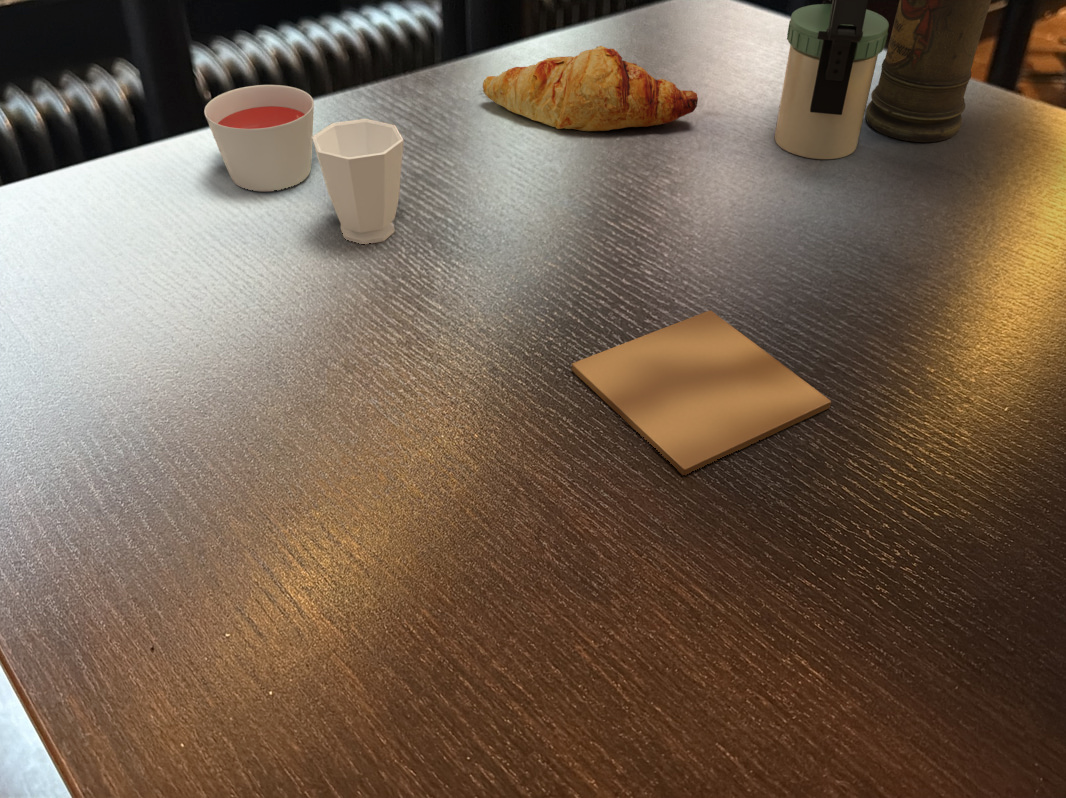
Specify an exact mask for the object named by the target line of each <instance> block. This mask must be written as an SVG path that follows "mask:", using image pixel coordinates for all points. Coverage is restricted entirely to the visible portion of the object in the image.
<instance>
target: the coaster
mask: <svg viewBox="0 0 1066 798" xmlns="http://www.w3.org/2000/svg"><path fill="white" fill-rule="evenodd" d="M570 369H571V371H572V373H574V374H575V375H576V376H577V377H578V378H579V379H580V380H581V381H582V382H583V383H584V384H585V385H586V386H588V387H589V389H590V390H592V391H593V392H594V393H595V395H597V396H598V398H600V399H601V400H602V401H603V402H605V404H606V405H608V407H610V408H611V409H612V410H613V411H614V412H615V414H617V415H618V416H619V415H620V416H621V417H620V416H619V417H620V418H621V419H622V420H623V421H625V423H626V424H628V425H629V426H630V428H632V429H633V430H634V431H635V430H636V431H635V432H636V433H637V432H638V433H639V434H640V435H639V434H638V433H637V434H638V435H639V436H640V437H642V438H643V437H644V438H643V440H645V441H646V440H647V441H646V442H647V443H648V442H649V443H648V445H650V444H651V445H652V446H653V447H654V448H656V450H658V452H660V453H659V455H661V454H662V455H661V457H663V456H664V457H663V458H664V459H665V458H666V459H665V461H667V460H668V461H669V462H670V463H669V462H668V461H667V462H668V463H669V464H670V465H671V464H672V465H673V466H674V467H675V468H676V469H677V470H676V469H675V468H674V467H673V466H672V465H671V466H672V467H673V468H674V469H675V470H676V471H677V472H678V473H679V474H680V475H682V476H683V475H685V476H687V474H688V475H690V474H692V473H693V472H692V471H694V472H696V471H698V470H700V469H702V467H703V468H705V467H706V466H705V465H707V464H709V465H711V464H713V463H715V462H717V461H718V460H717V459H720V458H722V457H724V456H726V455H728V456H730V455H732V454H734V453H733V452H735V451H737V452H739V451H741V450H743V449H745V448H748V447H749V446H752V445H754V444H756V443H758V442H760V441H762V440H764V439H767V438H769V437H771V436H773V435H775V434H777V433H780V432H781V431H784V430H786V429H788V428H790V427H792V426H795V425H796V424H799V423H801V422H803V421H805V420H807V419H809V418H811V417H814V416H815V415H817V414H820V413H822V412H824V411H826V410H828V409H830V407H831V405H832V401H831V399H829V398H828V397H826V396H825V395H824V394H823V393H821V392H820V391H819V390H817V389H816V388H815V387H813V386H812V385H810V384H809V383H808V382H807V381H805V380H804V379H802V378H801V377H800V376H799V375H797V374H796V373H795V372H794V371H792V370H791V369H790V368H788V367H787V366H785V365H784V364H782V362H780V361H779V360H777V359H776V358H775V357H773V356H772V355H771V354H770V353H769V352H767V351H765V350H764V349H763V348H762V347H760V346H759V345H758V344H756V343H755V342H753V340H751V339H750V338H748V337H747V336H746V335H744V334H743V333H741V332H740V331H739V330H738V329H736V328H735V327H733V326H732V324H730V323H729V322H727V321H725V320H724V319H723V318H722V317H721V316H719V315H718V314H716V313H715V312H714V311H712V310H710V309H709V310H706V311H704V312H701V313H699V314H696V315H694V316H691V317H689V318H686V319H683V320H680V321H677V322H676V323H672V324H670V325H667V326H666V327H663V328H660V329H658V330H654V331H653V332H652V331H651V332H649V333H647V334H644V335H642V336H639V337H637V338H635V339H631V340H629V341H627V342H624V343H621V344H619V345H616V346H614V347H611V348H608V349H606V350H603V351H601V352H598V353H596V354H593V355H590V356H587V357H585V358H582V359H580V360H577V361H575V362H572V363H571V368H570ZM766 437H767V438H766ZM759 440H760V441H759ZM751 444H752V445H751ZM651 445H650V446H651ZM652 446H651V447H652ZM653 447H652V448H653ZM654 448H653V449H654ZM656 450H655V451H656ZM738 450H739V451H738ZM658 452H657V453H658ZM731 453H732V454H731ZM735 453H736V452H735ZM729 454H730V455H729ZM726 457H727V456H726ZM724 458H725V457H724ZM722 459H723V458H722ZM720 460H721V459H720ZM714 461H715V462H714ZM712 462H713V463H712ZM710 463H711V464H710ZM704 466H705V467H704ZM707 466H708V465H707ZM700 467H701V468H700ZM699 468H700V469H699ZM697 469H698V470H697ZM695 470H696V471H695ZM691 472H692V473H691ZM689 473H690V474H689Z"/></svg>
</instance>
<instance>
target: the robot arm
mask: <svg viewBox="0 0 1066 798" xmlns="http://www.w3.org/2000/svg"><path fill="white" fill-rule="evenodd" d="M868 3H869V0H822V4H832V8H831V14H830V20H829V26H828V29H827V30H826V31H819V32H818V37H817V39H820V40H823V45H822V50H821V55H820V60H819V65H818V70H817V76H816V81H815V86H814V91H813V96H812V102H811V107H810V112H814V113H825V114H836V115H842V112H843V107H844V102H845V98H846V93H847V88H848V84H849V79H850V74H851V70H852V65H853V60H854V56H855V51H856V46H857V42H860V41H861V38H862V36H863V31H862V29H863V24H864V19H865V14H866V9H867V10H868ZM840 24H847V25H840ZM849 25H853V26H849Z"/></svg>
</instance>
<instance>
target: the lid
mask: <svg viewBox="0 0 1066 798" xmlns="http://www.w3.org/2000/svg"><path fill="white" fill-rule="evenodd" d="M831 8H832V4H823V3H820V4H819V3H817V4H811V5H810V4H809V5H806V6H802V7H798V8H797V9H795V10H794V11H793V12H792V13H791V16H790V20H789V23H788V28H787V32H786V33H787V34H786V37H787V38H786V40H787V42H788V44H789V46H790V45H791V46H793V47H794V48H795V49H797V50H799V51H801V52H804V53H806V54H809V55H813V56H816V57H820V55H821V50H822V45H823V40H820V39H817V37H818V32H819V31H826V30H827V29H828V26H829V20H830V14H831ZM840 25H847V24H840ZM849 26H853V25H849ZM889 27H890V24H889V21H888V20H887V18H885V17H884V16H883V15H881V14H879V13H878V12H875V11H872V10H870V9H868V8H867V9H866V14H865V19H864V24H863V29H862V31H863V36H862V38H861V41H860V42H857V46H856V51H855V56H854V60H858V59H866V58H870V57H873V56H876V55H878V56H879V54H881V53H882V52H883V50H884V49H885V48H886V44H887V40H888V35H889V32H888V31H889Z"/></svg>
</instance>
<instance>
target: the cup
mask: <svg viewBox="0 0 1066 798" xmlns="http://www.w3.org/2000/svg"><path fill="white" fill-rule="evenodd" d="M312 144H313V147H314V150H315V153H316V156H317V159H318V163H319V166H320V170H321V173H322V176H323V181H324V183H325V187H326V190H327V193H328V197H329V198H330V201H331V204H332V206H333V209H334V211H335V213H336V216H337V219H338V221H339V223H340V226H339V227H340V231H341V234H342V233H343V234H342V237H343V239H344V238H345V239H346V240H345V239H344V240H345V241H347V240H349V241H348V242H351V241H353V242H352V243H354V242H357V243H356V244H358V243H359V244H358V245H361V244H365V245H370V244H369V243H371V244H375V243H376V244H377V243H383V242H385V241H386V240H387V239H388V238H389V237H391V236H392V235H393V234H394V233H395V232H396V230H395V225H394V223H393V221H394V220H395V219H396V214H397V211H398V210H397V209H398V205H399V200H400V191H401V179H402V177H401V175H402V166H403V165H402V164H403V152H404V138H403V136H402V135H401V132H400V131H399V129H398V127H397V126H396V124H391V123H387V122H382V121H377V120H374V119H369V118H360V119H353V120H345V121H338V122H332V123H330V124H329V125H327V126H326V127H324V128H322V129H321V130H320V131H318V132H317V133H314V134H313V136H312Z"/></svg>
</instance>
